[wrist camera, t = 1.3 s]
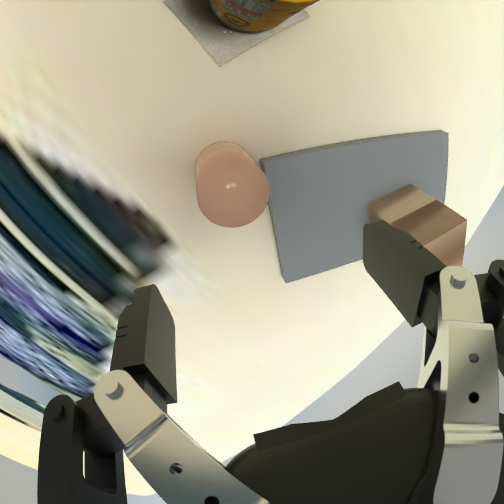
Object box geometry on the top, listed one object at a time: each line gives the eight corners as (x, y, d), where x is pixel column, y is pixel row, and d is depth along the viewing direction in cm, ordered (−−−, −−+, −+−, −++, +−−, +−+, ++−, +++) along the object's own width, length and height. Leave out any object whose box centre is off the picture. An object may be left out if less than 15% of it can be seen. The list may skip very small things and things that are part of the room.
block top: (390, 222, 22) (420, 247, 18) (436, 199, 21) (466, 219, 18) (394, 271, 25) (418, 297, 21) (436, 247, 24) (461, 269, 21)
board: (260, 159, 22) (263, 163, 21) (440, 130, 23) (448, 133, 22) (282, 276, 29) (285, 283, 28) (434, 226, 30) (440, 231, 29)
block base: (366, 203, 25) (390, 222, 22) (410, 183, 25) (436, 199, 21) (373, 249, 28) (394, 271, 25) (413, 228, 28) (436, 247, 24)
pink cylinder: (188, 150, 21) (188, 170, 16) (244, 135, 21) (262, 150, 16) (203, 200, 23) (208, 235, 18) (255, 186, 23) (275, 216, 18)
